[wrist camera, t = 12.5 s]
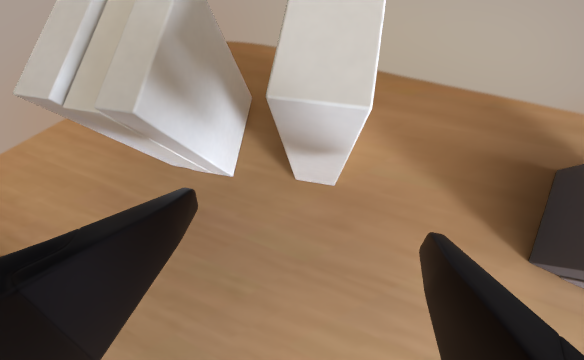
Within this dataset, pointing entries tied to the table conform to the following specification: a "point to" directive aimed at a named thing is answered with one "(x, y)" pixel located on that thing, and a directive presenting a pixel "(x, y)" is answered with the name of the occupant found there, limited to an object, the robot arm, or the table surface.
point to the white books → (143, 78)
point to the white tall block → (324, 82)
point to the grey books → (563, 228)
